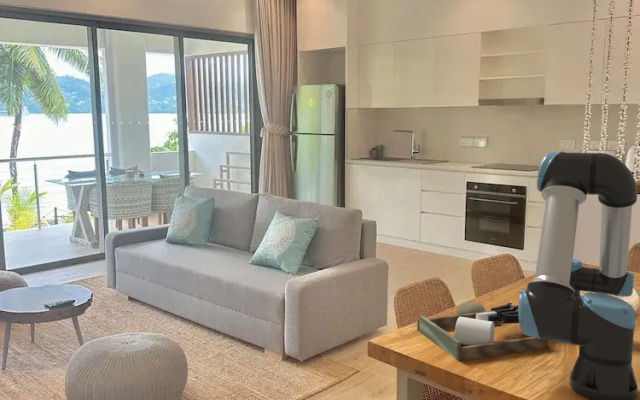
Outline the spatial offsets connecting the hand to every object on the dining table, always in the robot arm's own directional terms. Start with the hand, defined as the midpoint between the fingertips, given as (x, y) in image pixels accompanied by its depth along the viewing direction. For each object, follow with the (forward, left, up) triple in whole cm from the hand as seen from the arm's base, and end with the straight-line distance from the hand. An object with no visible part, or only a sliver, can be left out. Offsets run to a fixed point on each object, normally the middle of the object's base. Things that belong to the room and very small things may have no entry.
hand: (477, 318), depth 171 cm
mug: (-3, +1, -7) cm, 8 cm away
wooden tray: (+1, -1, -7) cm, 7 cm away
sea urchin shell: (+21, -1, -7) cm, 22 cm away
